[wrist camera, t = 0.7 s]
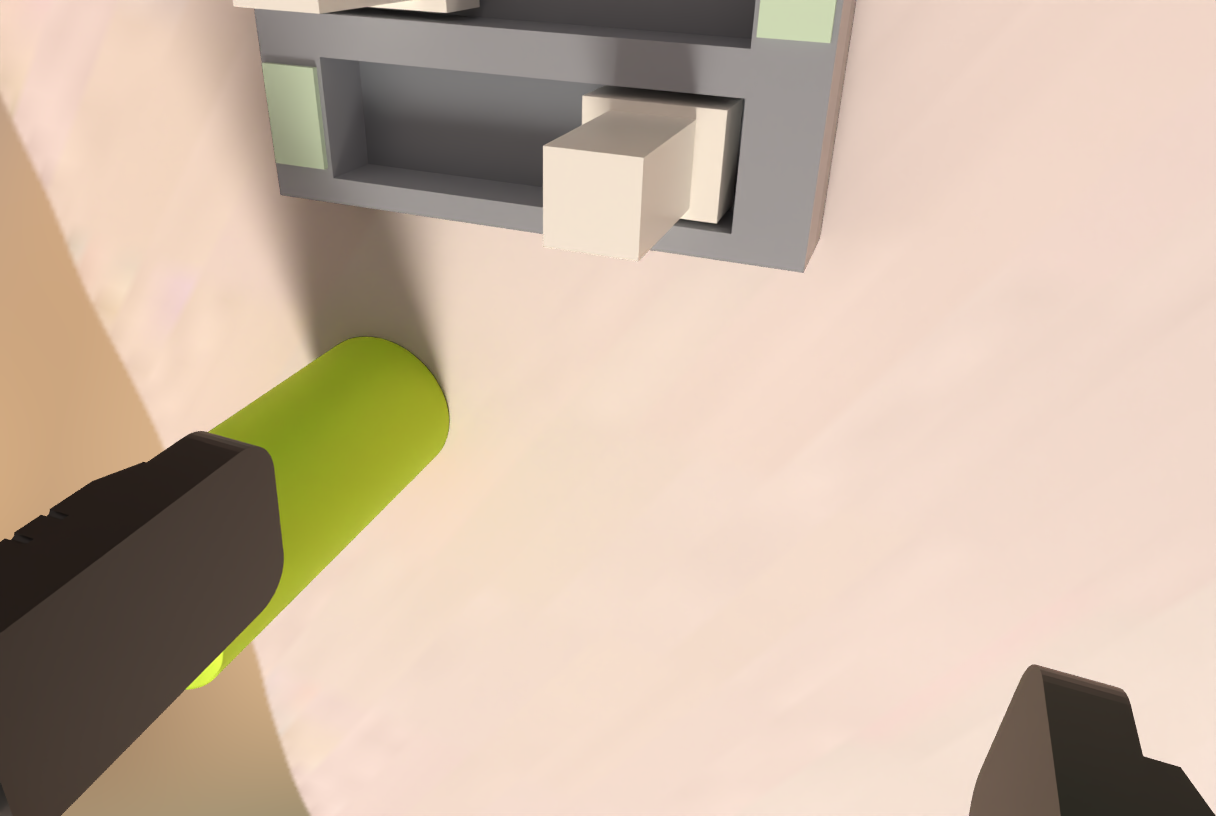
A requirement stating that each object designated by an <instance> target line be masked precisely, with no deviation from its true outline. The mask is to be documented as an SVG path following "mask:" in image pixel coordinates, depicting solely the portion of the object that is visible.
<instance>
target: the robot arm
mask: <svg viewBox="0 0 1216 816" xmlns="http://www.w3.org/2000/svg"><path fill="white" fill-rule="evenodd" d="M283 565H284V552H283V543H282V534H281V525H280V516H279V506H278V497H277V488H276V479H275V470H274V464H273V460H272V458H271V456H270V454H269V452H268V451H267V450H265V449H264V448H262V447H259V446H256V445H252V444H248V443H245V442H241V441H238V440H234V439H230V438H227V437H223V436H220V435H216V434H212V433H209V432H204V431H198V432H194V433H191V434H189V435H187V436H185V437H184V438H182V439H181V440H179V441H178V442H176V443H175V444H173V445H172V446H170V447H169V448H167V449H166V450H164V451H163V452H161V453H160V454H159V455H157V456H156V457H154V458H153V459H151V460H150V461H148V462H147V463H146V462H142V463H140V464H137V465H135V466H132V467H129V468H127V469H124V470H121V471H118V472H116V473H113V474H110V475H108V476H105V477H102V478H100V479H97V480H94V481H92V482H91V483H89V484H87V485H86V486H84V487H83V488H81V489H80V490H78V491H77V492H75V493H74V494H72V495H71V496H69V497H68V498H66V499H65V500H63V501H62V502H60V503H59V504H57V505H55V506H54V507H52V508H51V509H50V512H49V515H47V516H43V515H40V516H39V517H37V518H36V519H34V520H33V521H31V522H30V523H28V524H27V525H25V526H24V527H22V528H20V529H19V530H17V531H16V532H15V533H14V537H13V538H12V539H11V540H8V539H4V540H2V541H1V542H0V816H61V815H62V814H63V813H64V812H65V811H66V810H67V809H68V808H69V807H70V806H71V804H73V803H74V802H75V801H76V799H78V798H79V797H80V796H81V795H82V794H83V793H84V792H85V791H86V790H87V788H89V786H91V785H92V784H93V782H94V781H95V780H96V779H97V778H98V777H99V776H100V775H101V774H102V773H103V772H104V771H105V770H106V769H107V768H108V767H109V766H110V765H111V764H112V763H113V762H114V761H115V760H116V759H117V758H118V757H119V756H120V755H121V754H122V753H123V752H124V751H125V750H126V749H127V748H128V747H129V746H130V745H131V744H132V743H133V742H134V741H135V740H136V739H137V738H138V737H139V736H140V735H141V734H142V733H143V732H144V731H145V730H146V729H147V728H148V727H149V726H150V725H151V724H152V723H153V722H154V721H155V720H156V719H157V718H158V717H159V715H161V713H163V712H164V710H166V708H167V707H168V706H170V704H171V703H172V702H173V701H174V700H175V699H176V698H177V697H178V696H179V695H180V694H181V693H182V692H183V691H184V690H185V689H186V688H187V687H188V686H189V685H190V684H191V683H192V682H193V681H194V680H195V679H196V678H197V677H198V676H199V675H200V674H201V673H202V672H203V671H204V670H205V669H206V668H207V667H208V666H209V665H210V664H211V663H212V662H213V661H214V660H215V659H216V658H217V657H218V656H219V655H220V654H221V653H222V652H223V651H224V650H225V649H226V648H227V647H228V646H229V645H230V644H231V643H232V642H233V641H234V640H235V639H236V638H237V637H238V636H239V635H240V634H241V633H242V632H243V631H244V630H245V629H246V628H247V626H248V625H249V624H250V623H251V622H252V621H253V620H254V619H255V618H256V617H257V616H258V615H259V614H260V613H261V612H262V611H263V610H264V609H265V608H266V606H267V605H268V604H269V602H270V601H271V599H272V597H273V596H274V594H275V592H276V589H277V587H278V585H279V582H280V579H281V575H282V571H283ZM969 816H1215V814H1214V813H1213V812H1212V810H1211V809H1210V807H1209V806H1208V805H1207V803H1206V802H1205V801H1204V799H1203V798H1202V796H1201V795H1200V794H1199V792H1198V791H1197V789H1196V788H1195V787H1194V785H1193V784H1192V783H1191V781H1190V780H1189V778H1188V777H1187V776H1186V774H1185V773H1184V771H1183V770H1182V769H1181V767H1178V766H1174V765H1171V764H1168V763H1164V762H1161V761H1157V760H1154V759H1150V758H1147V757H1144V756H1143V754H1142V750H1141V746H1140V742H1139V737H1138V733H1137V729H1136V725H1135V721H1134V717H1133V713H1132V708H1131V704H1130V701H1129V698H1128V696H1127V694H1126V693H1125V692H1124V691H1123V690H1122V689H1120V688H1118V687H1114V686H1111V685H1107V684H1104V683H1100V682H1096V681H1093V680H1089V679H1086V678H1082V677H1078V676H1075V675H1071V674H1068V673H1064V672H1060V671H1057V670H1053V669H1050V668H1046V667H1042V666H1039V665H1035V664H1034V665H1031V666H1029V667H1028V668H1027V670H1026V671H1025V672H1024V674H1023V676H1022V678H1021V680H1020V682H1019V684H1018V686H1017V689H1016V691H1015V693H1014V695H1013V698H1012V700H1011V702H1010V705H1009V707H1008V709H1007V711H1006V714H1005V716H1004V718H1003V720H1002V723H1001V725H1000V727H999V730H998V732H997V734H996V736H995V739H994V741H993V743H992V745H991V748H990V750H989V752H988V754H987V757H986V759H985V761H984V764H983V766H982V768H981V770H980V773H979V775H978V778H977V781H976V785H975V788H974V792H973V797H972V801H971V807H970V813H969Z"/></svg>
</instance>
